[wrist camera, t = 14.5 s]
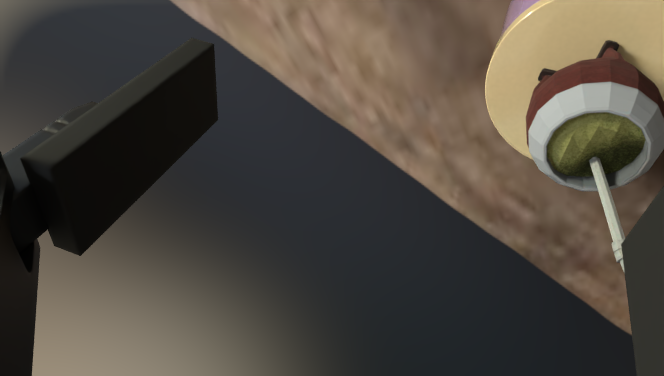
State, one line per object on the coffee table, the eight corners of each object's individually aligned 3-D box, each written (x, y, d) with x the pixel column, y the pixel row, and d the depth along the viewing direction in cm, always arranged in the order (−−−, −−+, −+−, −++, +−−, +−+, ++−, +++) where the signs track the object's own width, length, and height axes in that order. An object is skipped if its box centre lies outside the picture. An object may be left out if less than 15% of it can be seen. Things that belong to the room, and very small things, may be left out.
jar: (534, -75, 38) (526, -36, 29) (712, -35, 35) (760, 20, 27) (480, 74, 46) (461, 139, 37) (622, 114, 44) (636, 193, 35)
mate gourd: (556, 19, 30) (552, 149, 19) (694, 54, 29) (776, 216, 18) (511, 121, 35) (488, 272, 24) (628, 156, 34) (659, 332, 23)
